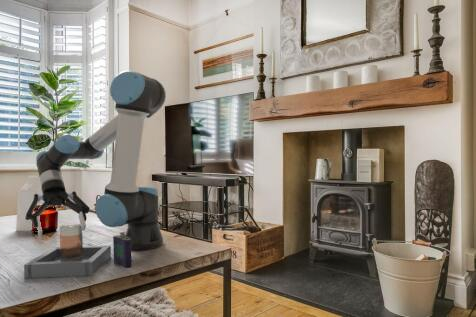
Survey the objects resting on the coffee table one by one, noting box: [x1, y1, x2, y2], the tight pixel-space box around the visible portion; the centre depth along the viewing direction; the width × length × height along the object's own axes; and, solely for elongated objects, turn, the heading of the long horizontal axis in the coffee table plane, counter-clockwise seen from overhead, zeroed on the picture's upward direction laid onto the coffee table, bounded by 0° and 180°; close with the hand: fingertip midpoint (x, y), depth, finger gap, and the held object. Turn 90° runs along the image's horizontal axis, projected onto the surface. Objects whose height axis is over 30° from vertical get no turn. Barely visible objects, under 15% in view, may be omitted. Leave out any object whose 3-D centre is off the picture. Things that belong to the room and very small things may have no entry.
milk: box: [15, 175, 45, 232], centre depth 167 cm, size 12×12×26 cm
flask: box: [112, 231, 133, 269], centre depth 109 cm, size 9×3×11 cm, turn 48°
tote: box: [23, 244, 112, 279], centre depth 107 cm, size 19×19×4 cm
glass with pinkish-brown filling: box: [59, 223, 84, 261], centre depth 108 cm, size 6×6×12 cm
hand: (63, 231), depth 115 cm, fingers open, 13 cm apart
